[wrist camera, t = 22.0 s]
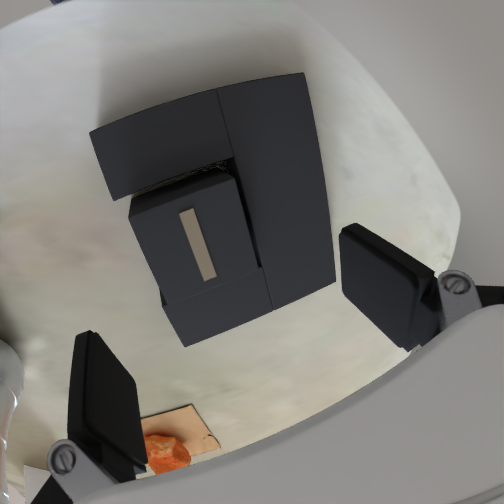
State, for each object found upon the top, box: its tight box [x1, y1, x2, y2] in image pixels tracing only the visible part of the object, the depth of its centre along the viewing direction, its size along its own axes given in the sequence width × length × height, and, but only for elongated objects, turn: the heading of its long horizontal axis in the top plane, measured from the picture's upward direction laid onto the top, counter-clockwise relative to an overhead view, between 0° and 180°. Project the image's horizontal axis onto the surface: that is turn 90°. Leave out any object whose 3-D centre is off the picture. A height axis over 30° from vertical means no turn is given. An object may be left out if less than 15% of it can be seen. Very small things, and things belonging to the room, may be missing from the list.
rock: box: [141, 405, 221, 475], centre depth 27 cm, size 12×12×4 cm
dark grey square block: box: [128, 168, 259, 306], centre depth 18 cm, size 6×6×4 cm
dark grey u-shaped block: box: [89, 72, 336, 347], centre depth 19 cm, size 16×13×2 cm
